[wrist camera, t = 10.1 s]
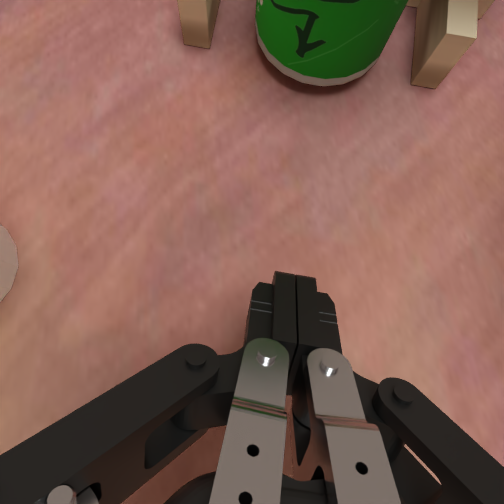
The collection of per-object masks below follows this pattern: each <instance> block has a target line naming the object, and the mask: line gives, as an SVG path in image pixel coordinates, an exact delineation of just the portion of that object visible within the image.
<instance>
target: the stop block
mask: <svg viewBox="0 0 504 504" xmlns="http://www.w3.org/2000/svg"><path fill="white" fill-rule="evenodd" d="M177 2H178V9H179V15H180V21H181V27H182V34H183V40H184V44H186V45H192V46H197V47H203V48H208V49H210V44H211V40H212V35H213V30H214V26H215V21H216V17H217V12H218V8H219V3H220V0H177ZM493 2H494V0H408V2H407V4H406V6H411V7H417V15H416V27H415V39H414V51H413V64H412V76H411V85H417V86H422V87H428V88H434V89H436V88H437V87H438V85H439V84H440V83H441V82H442V81H443V79H444V78H445V77H446V76H447V74H448V73H449V72H450V71H451V69H452V68H453V67H454V66H455V64H456V63H457V62H458V61H459V59H460V58H461V57H462V56H463V55H464V53H465V52H466V51H467V50H468V48H469V47H470V46H471V45H472V43H473V42H474V41H475V40H476V38H477V18H478V19H481V17H482V16H483V15H484V13H485V12H486V11H487V10H488V8H489V7H490V6H491V4H492V3H493Z"/></svg>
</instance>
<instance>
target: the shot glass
mask: <svg viewBox="0 0 504 504" xmlns="http://www.w3.org/2000/svg"><path fill="white" fill-rule="evenodd" d="M17 270H18V256H17V246H16V244H15V243H14V241H13V239H12V237H11V236H10V234H9V232H8V231H7V229H6V228H5V227H3V226H2V225H0V302H1V301H2V299H3V298H4V297H5V296H6V295H7V293H8V292H9V291H10V290H11V288H12V285H13V282H14V279H15V276H16V273H17Z"/></svg>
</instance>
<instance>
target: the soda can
mask: <svg viewBox="0 0 504 504" xmlns="http://www.w3.org/2000/svg"><path fill="white" fill-rule="evenodd" d="M407 2H408V0H257V2H256V16H255V27H256V33H257V39H258V44H259V45H260V47H261V49H262V51H263V52H264V54H265V56H266V58H267V59H268V60H269V61H270V62H271V63H272V64H273V65H274V66H275V67H276V68H277V69H278V70H280V71H281V72H282V73H283V74H285V75H287V76H289V77H291V78H293V79H295V80H297V81H299V82H301V83H306V84H312V85H318V86H331V85H340V84H345V83H347V82H349V81H352V80H354V79H356V78H359V77H361V76H362V75H363V74H364V73H366V72H367V71H368V70H369V69H370V68H371V67H372V66H373V65H374V64H375V63H376V62H377V60H378V58H379V56H380V54H381V52H382V50H383V48H384V46H385V44H386V43H387V41H388V39H389V37H390V35H391V33H392V31H393V29H394V27H395V25H396V23H397V21H398V19H399V17H400V16H401V14H402V12H403V10H404V8H405V6H406V4H407Z"/></svg>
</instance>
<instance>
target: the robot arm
mask: <svg viewBox="0 0 504 504" xmlns="http://www.w3.org/2000/svg"><path fill="white" fill-rule="evenodd" d="M286 395H291V396H292V406H291V409H290V412H289V427H290V438H291V450H292V461H293V478H290V477H288V476H286V475H283V474H282V472H283V460H284V448H285V437H286V425H287V413H286V412H285V399H286ZM224 425H227V427H226V431H225V436H224V440H223V444H222V449H221V453H220V458H219V462H218V466H217V471H216V472H211V473H208V474H204V475H202V476H199V477H197V478H195V479H193V480H191V481H190V482H188V483H187V484H185V485H184V486H183V487H181V488H180V489H179V490H178V491H176V492H175V493H174V494H173V495H172V496H171V497H170V498H169V499H168V500H167V501H166V502H165V503H164V504H504V467H503V466H502V465H501V464H500V463H499V462H497V461H496V460H495V459H494V458H493V457H492V456H491V455H490V454H489V453H488V452H486V451H485V450H484V449H483V448H482V447H481V446H480V445H479V444H478V443H477V442H475V441H474V440H473V439H472V438H471V437H470V436H469V435H468V434H467V433H465V432H464V431H463V430H462V429H461V428H460V427H459V426H458V425H457V424H456V423H454V422H453V421H452V420H451V419H450V418H449V417H448V416H447V415H446V414H445V413H443V412H442V411H441V410H440V409H439V408H438V407H437V406H436V405H435V404H434V403H432V402H431V401H430V400H429V399H428V398H427V397H426V396H425V395H424V394H423V393H421V392H420V391H419V390H418V389H417V388H416V387H415V386H413V385H412V384H411V383H409V382H407V381H405V380H402V379H399V378H386V379H384V380H382V381H381V382H380V384H377V383H375V382H373V381H370V380H368V379H366V378H364V377H362V376H360V375H358V374H356V373H355V372H354V371H353V370H352V367H351V364H350V363H349V361H348V360H347V359H346V358H345V357H344V356H343V355H342V349H341V343H340V336H339V330H338V324H337V317H336V311H335V305H334V302H333V301H332V300H331V298H330V297H329V295H328V294H327V293H321V292H317V286H316V279H315V278H313V277H307V276H301V275H294V274H289V273H284V272H278V271H275V273H274V277H273V281H272V284H268V283H262V282H259V283H258V284H257V285H256V287H255V288H254V289H253V291H252V296H251V301H250V306H249V311H248V316H247V321H246V329H245V337H244V345H243V347H242V348H241V349H240V350H238V351H237V352H234V353H231V354H227V355H217V354H216V352H215V351H214V350H213V349H211V348H210V347H208V346H205V345H202V344H188V345H184V346H182V347H180V348H179V349H177V350H175V351H174V352H172V353H170V354H169V355H167V356H165V357H164V358H162V359H160V360H159V361H157V362H155V363H154V364H152V365H150V366H149V367H147V368H145V369H144V370H142V371H140V372H139V373H137V374H135V375H134V376H132V377H130V378H129V379H127V380H125V381H124V382H122V383H120V384H119V385H117V386H115V387H114V388H112V389H110V390H109V391H107V392H105V393H104V394H102V395H100V396H99V397H97V398H95V399H94V400H92V401H90V402H89V403H87V404H85V405H84V406H82V407H80V408H79V409H77V410H75V411H74V412H72V413H70V414H69V415H67V416H65V417H64V418H62V419H60V420H59V421H57V422H55V423H54V424H52V425H50V426H49V427H47V428H45V429H44V430H42V431H40V432H39V433H37V434H35V435H34V436H32V437H30V438H29V439H27V440H25V441H24V442H22V443H20V444H19V445H17V446H15V447H14V448H12V449H10V450H9V451H7V452H5V453H4V454H2V455H0V504H121V503H122V502H123V501H124V500H125V499H127V498H128V497H129V496H130V495H131V494H133V493H134V492H135V491H136V490H137V489H139V488H140V487H141V486H142V485H143V484H145V483H146V482H147V481H148V480H149V479H151V478H152V477H153V476H154V475H155V474H157V473H158V472H159V471H160V470H161V469H163V468H164V467H165V466H166V465H168V464H169V463H170V462H171V461H172V460H174V459H175V458H176V457H177V456H178V455H180V454H181V453H182V452H183V451H184V450H186V449H187V448H188V447H189V446H190V445H192V444H193V443H194V442H195V441H196V440H198V439H199V438H200V437H201V436H202V435H204V434H205V433H206V431H207V430H208V428H212V427H218V426H224ZM405 444H406V445H407V446H408V447H409V448H410V449H411V450H412V451H413V452H414V453H415V454H416V455H417V456H418V457H419V458H420V459H421V460H422V461H423V462H424V463H425V465H426V466H427V467H428V468H429V469H430V470H431V471H432V472H433V473H434V474H435V475H436V476H437V477H438V479H439V481H440V482H441V485H440V484H439V483H438V482H437V481H436V480H435V478H434V477H433V476H432V475H431V474H430V473H429V472H428V471H427V470H426V469H425V468H424V467H423V466H422V465H421V464H420V463H419V462H418V461H417V460H416V458H415V457H414V456H413V455H412V454H411V453H410V452H409V451H408V450H407V449H406V448H405V447H404V445H405Z"/></svg>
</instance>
